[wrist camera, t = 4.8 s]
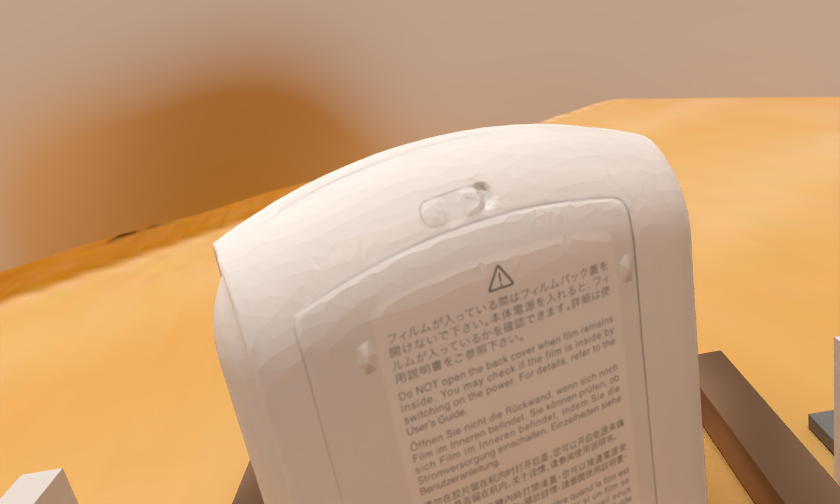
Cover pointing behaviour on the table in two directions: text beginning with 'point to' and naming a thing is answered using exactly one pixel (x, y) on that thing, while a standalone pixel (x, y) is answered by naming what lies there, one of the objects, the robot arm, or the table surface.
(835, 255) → the table surface
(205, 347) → the table surface
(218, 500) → the table surface
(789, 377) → the table surface
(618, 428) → the photo printer
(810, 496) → the walnut frame
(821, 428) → the rubber mat
